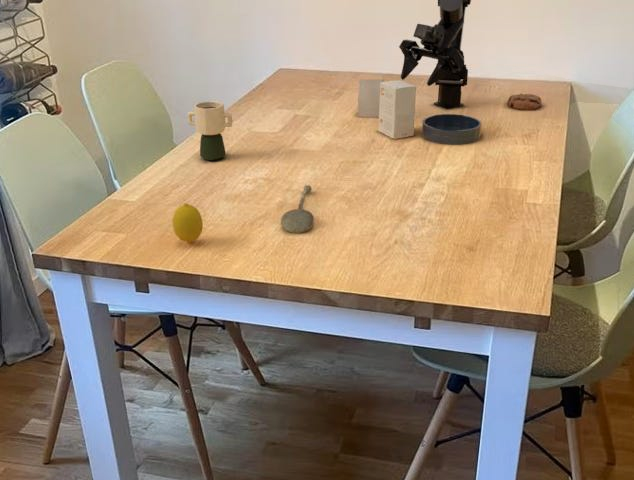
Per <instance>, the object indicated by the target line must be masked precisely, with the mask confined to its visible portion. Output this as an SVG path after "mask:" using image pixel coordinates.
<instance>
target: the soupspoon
mask: <svg viewBox="0 0 634 480" xmlns="http://www.w3.org/2000/svg"><path fill="white" fill-rule="evenodd" d="M312 190H313V189H312V186H311V185H309V184H305V185H304V186H303V192H302V194H301V197H300V200H299V203H298V206H297V208H295V209H291V210H288V211H286V212H285V213H283V214H282V216H281V218H280V225H281V227H282V228H283V230H285V231H287V232H290V233H292V234H302V233H306V232H308V231H309V230H310V229H311V228H313V224H314V222H315V217H314V214H313V213H312V212H311V211H309V210H307V209H303V207H304V203H305V198H306V195H307V194H309V193H311V192H312Z"/></svg>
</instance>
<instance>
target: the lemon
mask: <svg viewBox="0 0 634 480" xmlns="http://www.w3.org/2000/svg"><path fill="white" fill-rule="evenodd" d="M172 228H173V231H174V234H175V236H176V237H177V238H179V240H181V241H183V242H186V243H188V244H191V243H193V242H194V241H196V240H197V239H199V237H200V236H201V234H202V232H203V229H204V228H203V218H202V215H201V212H200V211H199V209H198V208H197V207H195V206H193V205H191V204H188V203H183V204H182V205H180V206H179V207H177V208H176V209H175V211H174V213H173V216H172Z"/></svg>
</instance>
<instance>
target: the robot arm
mask: <svg viewBox="0 0 634 480" xmlns="http://www.w3.org/2000/svg"><path fill="white" fill-rule="evenodd" d="M471 2H472V0H437V7H439V21H438V23H437V24H434V25H433V26H432V25H429V24H428V25H427V24H421V23H417V25H416V27H415V30H414V33H413V35H412V36H413V37H414V38H417V39H419V40H420V42H419V43H420V45H421V46H423V47H420V45H419V44H418V42H417V41H416V40H411V39H403V40H402V41H401V42H400V45H399V46H398V48H399V50H401V53H402V54H403V57H404V58H403V65H402V69H401V75H400V80H402V81H404V80H405V79H406V78H407V77H408V76H409V75H410V74H411V73H412V72H413V71H414V70H415V69H416V67H417V66H418V65H419V61H421V60H422V58H423V57H425V58H430V59H433V60H437V63H436V64H435V65H436V66H435V67H434V69H433V71H432V73H430V76H429V77H428V80H427V82H426V85H427V86H428V87H430V86H432V85H434V86H438V94H437V101H435V102H433V105H434V106H437V107H440V108H443V109H447V110H451V109H454V108H460V107H464V106H465V105H464V103H462V87H465V86H467V85H468V77H469V69H468V68H467V64H465V54H464V52H463V50H462V40H463V32H464V24H465V15H466V8H468V7H469V5H471Z"/></svg>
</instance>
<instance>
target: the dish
mask: <svg viewBox="0 0 634 480" xmlns="http://www.w3.org/2000/svg"><path fill="white" fill-rule="evenodd" d="M482 126H483V122H482V121H481V120H479V119H478V118H475V117H473V116H469V115H463V114H453V113H444V114H443V113H442V114H435V115H430V116H427V117H424V118H423V120H422V122H421V136H422V138H423V139H425V140H427V141H429V142H432V143H436V144H442V145H467V144H471V143H475V142H477V141H479V140H480V139H481V135H482Z"/></svg>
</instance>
